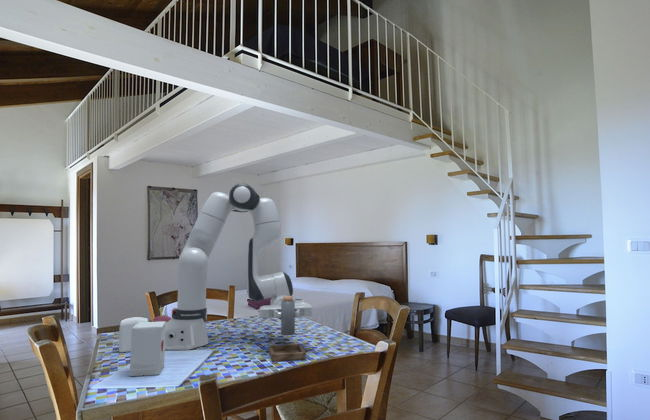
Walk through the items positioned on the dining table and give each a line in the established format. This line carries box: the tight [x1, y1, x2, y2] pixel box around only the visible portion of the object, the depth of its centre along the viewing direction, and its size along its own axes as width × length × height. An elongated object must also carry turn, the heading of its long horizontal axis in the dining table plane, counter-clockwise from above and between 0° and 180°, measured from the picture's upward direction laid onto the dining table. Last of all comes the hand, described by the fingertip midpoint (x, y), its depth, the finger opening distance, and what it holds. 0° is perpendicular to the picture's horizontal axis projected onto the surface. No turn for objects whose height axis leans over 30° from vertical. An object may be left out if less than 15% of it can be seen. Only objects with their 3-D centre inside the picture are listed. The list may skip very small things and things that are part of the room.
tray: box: [268, 343, 307, 363], centre depth 147 cm, size 12×12×2 cm
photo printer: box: [118, 316, 149, 353], centre depth 152 cm, size 10×4×12 cm, turn 112°
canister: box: [280, 295, 296, 336], centre depth 148 cm, size 5×5×14 cm
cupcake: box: [151, 305, 172, 323], centre depth 183 cm, size 9×8×12 cm
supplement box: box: [129, 321, 166, 377], centre depth 129 cm, size 9×9×15 cm
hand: (288, 314), depth 147 cm, fingers closed on canister, 5 cm apart
